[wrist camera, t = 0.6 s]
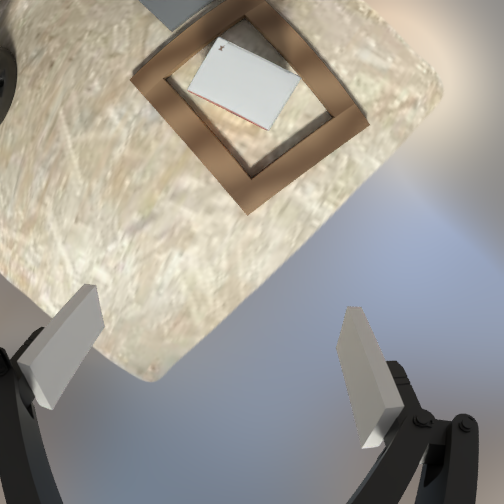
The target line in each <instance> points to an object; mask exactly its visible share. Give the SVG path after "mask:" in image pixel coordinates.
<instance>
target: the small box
mask: <svg viewBox="0 0 504 504" xmlns="http://www.w3.org/2000/svg"><path fill="white" fill-rule="evenodd" d="M300 79H301V77H300V76H298V75H296V74H294V73H292V72H290V71H288V70H286V69H284V68H282V67H280V66H278V65H276V64H274V63H272V62H270V61H268V60H266V59H264V58H262V57H260V56H258V55H256V54H254V53H252V52H250V51H248V50H246V49H244V48H241V47H239V46H237V45H235V44H233V43H231V42H229V41H227V40H225V39H223V38H221V37H218V38H217V39H216V41H215V43H214V44H213V46H212V48H211V49H210V51H209V53H208V54H207V56H206V58H205V59H204V61H203V63H202V64H201V66H200V68H199V69H198V71H197V73H196V75H195V76H194V78H193V80H192V82H191V84H190V85H189V87H188V89H187V91H189V92H191V93H193V94H195V95H197V96H199V97H201V98H203V99H205V100H207V101H209V102H211V103H213V104H215V105H217V106H219V107H221V108H223V109H225V110H227V111H229V112H231V113H233V114H235V115H237V116H239V117H241V118H243V119H245V120H247V121H249V122H251V123H253V124H255V125H257V126H259V127H261V128H263V129H265V130H267V131H269V130H270V128H271V127H272V125H273V123H274V122H275V120H276V119H277V117H278V115H279V114H280V112H281V111H282V109H283V107H284V106H285V104H286V102H287V101H288V99H289V98H290V96H291V94H292V93H293V91H294V89H295V88H296V86H297V84H298V83H299V81H300Z"/></svg>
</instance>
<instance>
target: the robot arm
mask: <svg viewBox="0 0 504 504" xmlns="http://www.w3.org/2000/svg"><path fill="white" fill-rule="evenodd" d="M15 86H16V64H15V60H14V57H13V55H12V54H11V52H10V51H9V50H8V49H6V48H2V47H0V124H1V123H2V121H3V120H4V118H5V116H6V114H7V112H8V110H9V108H10V105H11V102H12V99H13V96H14V91H15ZM104 327H105V326H104V321H103V317H102V312H101V307H100V303H99V298H98V292H97V287H96V285H90V284H84V285H83V286H82V287H81V288H80V289H79V290H78V291H77V292H76V293H75V295H74V296H73V297H72V298H71V299H70V300H69V301H68V302H67V303H66V304H65V305H64V306H63V308H62V309H61V310H60V311H59V312H58V313H57V314H56V315H55V317H54V318H53V319H52V320H51V321H50V322H49V323H48V325H47V326H46V327H41V328H39V329H37V330H36V331H34V332H33V333H32V334H31V336H30V337H29V338H28V340H26V341H25V342H24V345H22V346H21V347H20V348H19V350H18V351H17V352H16V353H15V355H14V356H13V357H12V358H11V359H9V357H8V355H7V353H6V351H5V349H3V348H1V347H0V478H1V482H2V487H3V491H4V495H5V499H6V503H7V504H63V502H62V499H61V497H60V494H59V491H58V489H57V486H56V483H55V480H54V477H53V475H52V472H51V469H50V466H49V462H48V459H47V456H46V452H45V449H44V445H43V442H42V438H41V434H40V430H39V426H38V421H37V417H36V412H35V407H34V405H33V403H32V401H33V399H34V398H36V399H37V401H38V403H39V405H40V406H43V407H46V408H48V409H51V410H53V408H54V407H55V405H56V403H57V401H58V400H59V398H60V396H61V395H62V393H63V391H64V390H65V388H66V386H67V385H68V383H69V381H70V380H71V378H72V377H73V375H74V373H75V372H76V370H77V368H78V367H79V365H80V364H81V362H82V361H83V359H84V357H85V356H86V354H87V353H88V351H89V350H90V348H91V347H92V345H93V344H94V342H95V341H96V339H97V338H98V336H99V335H100V333H101V332H102V330H103V329H104ZM336 350H337V353H338V357H339V361H340V364H341V368H342V372H343V376H344V379H345V383H346V387H347V391H348V395H349V398H350V403H351V407H352V411H353V415H354V419H355V423H356V427H357V431H358V436H359V440H360V444H361V448H371V447H378V446H379V445H380V444H381V442H382V441H383V439H384V442H385V445H386V447H385V448H384V450H383V451H382V453H381V454H380V455H379V457H378V458H377V461H376V463H375V464H374V465H373V467H372V468H371V470H370V471H369V473H368V474H367V476H366V478H365V479H364V480H363V482H362V483H361V484H360V486H359V487H358V489H357V490H356V492H355V493H354V494H353V495H352V497H351V498H350V499H349V501H348V502H347V503H346V504H398V502H399V501H400V499H401V497H402V495H403V494H404V492H405V490H406V488H407V486H408V484H409V482H410V481H411V479H412V477H413V475H414V473H415V471H416V469H417V467H418V465H419V464H423V467H422V472H421V478H420V482H419V487H418V491H417V496H416V500H415V504H475V501H476V490H477V478H478V454H479V434H478V433H479V431H478V424H477V422H476V420H475V419H474V418H473V417H472V416H470V415H467V414H459V415H457V416H456V417H455V418H454V419H453V420H452V421H444V420H437V419H435V418H434V416H433V415H432V414H431V413H430V412H428V411H427V410H424V409H422V408H421V406H420V403H419V401H418V399H417V397H416V394H415V392H414V390H413V388H412V386H411V385H410V381H409V379H408V378H407V375H406V373H405V370H404V368H403V367H402V366H401V365H400V364H399V363H398V362H397V361H385V358H384V356H383V354H382V351H381V349H380V347H379V345H378V342H377V340H376V338H375V336H374V333H373V331H372V329H371V327H370V325H369V323H368V320H367V318H366V316H365V314H364V312H363V310H362V308H361V307H347V310H346V313H345V317H344V321H343V325H342V329H341V332H340V336H339V339H338V343H337V346H336Z"/></svg>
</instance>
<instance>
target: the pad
mask: <svg viewBox="0 0 504 504" xmlns="http://www.w3.org/2000/svg"><path fill="white" fill-rule="evenodd" d="M139 1H140V2H141V3H142V4H143V5H144V6H145V7H146V8H147V9H149V10H150V11H151V12H152V13H153V14H154V15H155V16H156V17H157V18H158V19H159V20H160V21H161V22H162V23H163V24H164V25H165V26H166V27H167V28H168V29H169V30H171V31H172V32H173V31H174V30H175V29H176V28H178V27H179V26H180V25H181V24H183V23H184V22H185V21H186V20H188V19H189V18H190V17H192V16H193V15H194V14H196V13H197V12H198V11H200V10H201V9H202V8H204V7H205V6H207V5H208V4H209V3H211V2H212V1H214V0H139Z"/></svg>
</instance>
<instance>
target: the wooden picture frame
mask: <svg viewBox="0 0 504 504" xmlns="http://www.w3.org/2000/svg"><path fill="white" fill-rule="evenodd" d="M244 18H246V19H247V20H248V21H249V22H250V23H251V24H252V25H253V26H254V27H255V28H256V29H257V30H258V31H259V32H260V33H261V34H262V35H263V36H264V37H265V38H266V39H267V40H268V41H269V42H270V43H271V44H272V46H273V47H274V48H275V49H276V50H277V51H278V52H279V53H280V54H281V55H282V56H283V58H284V59H285V60H286V61H287V62H288V63H289V64H290V66H291V67H292V68H293V69H294V70H295V71H296V72H297V74H298V75H299V76H300V77H301V78H302V80H303V81H304V82H305V83H306V84H307V86H308V87H309V88H310V89H311V90H312V92H313V93H314V94H315V95H316V97H317V98H318V99H319V101H320V102H321V103H322V104H323V106H324V107H325V108H326V110H327V111H328V112H329V113H330V115H331V116H332V117H333V118H332V119H330V120H329V121H328V122H326V123H325V124H323V125H322V126H321V127H319V128H318V129H317V130H315V131H314V132H312V133H311V134H310V135H308V136H307V137H306V138H304V139H303V140H301V141H300V142H299V143H297V144H296V145H295V146H293V147H292V148H291V149H289V150H288V151H287V152H285V153H284V154H283V155H281V156H280V157H279V158H277V159H276V160H275V161H274V162H272V163H271V164H270V165H268V166H267V167H266V168H264V169H263V170H262V171H261V172H259V173H258V174H257V175H255V176H254V177H253V178H251V177H250V176H249V175H248V173H247V172H246V171H245V170H244V169H243V167H242V166H241V165H240V164H239V163H238V161H237V160H236V159H235V158H234V157H233V155H232V154H231V153H230V152H229V151H228V150H227V148H226V147H225V146H224V145H223V144H222V143H221V141H220V140H219V139H218V138H217V137H216V136H215V134H214V133H213V132H212V131H211V130H210V129H209V128H208V126H207V125H206V124H205V123H204V122H203V121H202V120H201V118H200V117H199V116H198V115H197V114H196V113H195V112H194V110H193V109H192V108H191V107H190V106H189V105H188V104H187V103H186V102H185V100H184V99H183V98H182V97H181V96H180V95H179V94H178V93H177V92H176V90H175V89H174V88H173V87H172V86H171V85H170V84H169V83H168V82H167V81H166V79H167V78H168V77H169V76H170V75H172V74H173V73H174V72H175V71H176V70H177V69H178V68H180V67H181V66H182V65H183V64H184V63H186V62H187V61H188V60H189V59H190V58H192V57H193V56H194V55H195V54H196V53H198V52H199V51H200V50H201V49H203V48H204V47H205V46H207V45H208V44H209V43H210V42H212V41H213V40H214V39H216V38H217V37H218V36H220V35H221V34H222V33H224V32H225V31H227V30H228V29H229V28H231V27H232V26H234V25H235V24H237V23H238V22H239V21H241V20H242V19H244ZM130 81H131V82H132V83H133V84H134V85H135V87H136V88H137V89H138V90H139V91H140V92H141V93H142V94H143V96H144V97H145V98H146V99H147V100H148V101H149V102H150V103H151V105H152V106H153V107H154V108H155V109H156V110H157V111H158V112H159V114H160V115H161V116H162V117H163V118H164V119H165V120H166V122H167V123H168V124H169V125H170V126H171V127H172V128H173V130H174V131H175V132H176V133H177V134H178V135H179V136H180V138H181V139H182V140H183V141H184V142H185V143H186V144H187V146H188V147H189V148H190V149H191V150H192V151H193V152H194V154H195V155H196V156H197V157H198V158H199V159H200V161H201V162H202V163H203V164H204V165H205V166H206V168H207V169H208V170H209V171H210V172H211V173H212V174H213V176H214V177H215V178H216V179H217V180H218V181H219V183H220V184H221V185H222V186H223V187H224V188H225V190H226V191H227V192H228V193H229V194H230V196H231V197H232V198H233V199H234V200H235V201H236V203H237V204H238V205H239V206H240V207H241V208H242V210H243V211H244V212H245V213H246V214H247V216H248V215H249V214H250V213H252V212H253V211H254V210H256V209H257V208H258V207H259V206H261V205H262V204H263V203H265V202H266V201H267V200H269V199H270V198H271V197H273V196H274V195H275V194H277V193H278V192H279V191H281V190H282V189H283V188H285V187H286V186H287V185H289V184H290V183H291V182H293V181H294V180H295V179H297V178H298V177H299V176H301V175H302V174H303V173H305V172H306V171H307V170H309V169H310V168H311V167H313V166H314V165H315V164H317V163H318V162H319V161H321V160H322V159H324V158H325V157H326V156H328V155H329V154H330V153H332V152H333V151H334V150H336V149H337V148H339V147H340V146H341V145H343V144H344V143H346V142H347V141H348V140H350V139H351V138H352V137H354V136H355V135H357V134H358V133H359V132H361V131H362V130H364V129H365V128H366V127H368V126H369V125H370V124H369V123H368V121H367V120H366V118H365V117H364V115H363V114H362V113H361V111H360V110H359V108H358V107H357V106H356V104H355V103H354V101H353V100H352V99H351V97H350V96H349V95H348V93H347V92H346V91H345V89H344V88H343V87H342V85H341V84H340V83H339V82H338V80H337V79H336V78H335V77H334V75H333V74H332V73H331V72H330V70H329V69H328V68H327V67H326V65H325V64H324V63H323V62H322V61H321V59H320V58H319V57H318V56H317V55H316V54H315V52H314V51H313V50H312V49H311V48H310V47H309V46H308V44H307V43H306V42H305V41H304V40H303V39H302V38H301V37H300V36H299V35H298V33H297V32H296V31H295V30H294V29H293V28H292V27H291V26H290V25H289V24H288V23H287V22H286V21H285V20H284V19H283V18H282V17H281V16H280V15H279V14H278V13H277V12H276V11H275V10H274V9H273V8H272V7H271V6H270V5H269V4H268V3H267V2H266V1H265V0H226V1H224V2H223V3H221V4H220V5H218V6H217V7H215V8H214V9H213V10H211V11H210V12H208V13H207V14H206V15H204V16H203V17H202V18H200V19H199V20H198V21H196V22H195V23H194V24H192V25H191V26H190V27H188V28H187V29H186V30H185V31H183V32H182V33H181V34H180V35H178V36H177V37H176V38H175V39H174V40H172V41H171V42H170V43H169V44H168V45H167V46H165V47H164V48H163V49H162V50H161V51H160V52H158V53H157V54H156V55H155V56H154V57H153V58H152V59H151V60H150V61H149V62H147V63H146V64H145V65H144V66H143V67H142V68H141V69H140V70H139V71H138V72H137V73H136V74H135V75H134V76H133V77H132V78H131V79H130Z"/></svg>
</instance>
